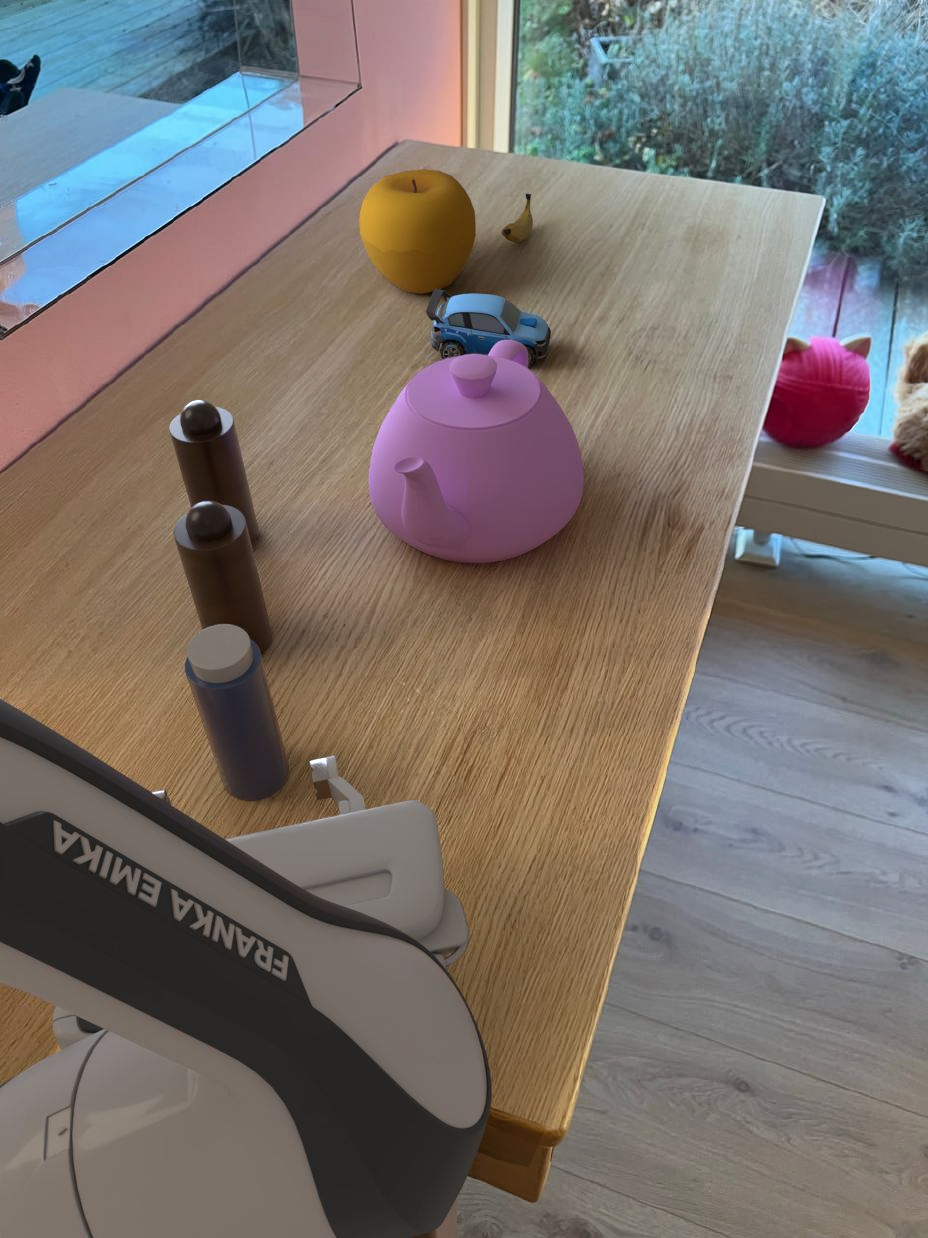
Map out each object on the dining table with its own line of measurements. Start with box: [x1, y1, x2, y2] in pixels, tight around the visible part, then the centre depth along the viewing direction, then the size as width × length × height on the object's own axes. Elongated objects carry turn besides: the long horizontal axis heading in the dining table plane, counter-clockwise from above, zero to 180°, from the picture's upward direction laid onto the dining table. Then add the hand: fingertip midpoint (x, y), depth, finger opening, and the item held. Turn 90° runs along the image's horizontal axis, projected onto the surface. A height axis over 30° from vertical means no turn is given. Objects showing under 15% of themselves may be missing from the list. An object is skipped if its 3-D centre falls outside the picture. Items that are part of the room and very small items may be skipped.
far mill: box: [168, 399, 260, 545], centre depth 79 cm, size 5×5×13 cm
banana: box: [501, 192, 534, 244], centre depth 118 cm, size 10×2×4 cm, turn 163°
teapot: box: [368, 340, 585, 564], centre depth 79 cm, size 25×18×14 cm
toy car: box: [425, 288, 552, 367], centre depth 100 cm, size 6×12×6 cm, turn 80°
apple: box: [358, 169, 477, 295], centre depth 110 cm, size 13×13×11 cm
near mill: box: [173, 501, 274, 656], centre depth 70 cm, size 5×5×13 cm
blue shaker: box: [184, 624, 290, 801], centre depth 62 cm, size 4×4×12 cm
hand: (240, 780), depth 56 cm, fingers open, 8 cm apart
